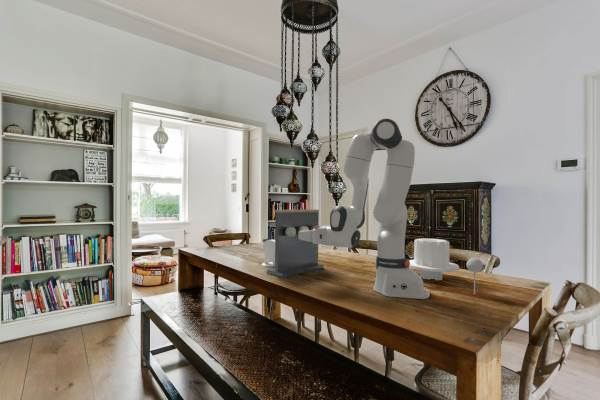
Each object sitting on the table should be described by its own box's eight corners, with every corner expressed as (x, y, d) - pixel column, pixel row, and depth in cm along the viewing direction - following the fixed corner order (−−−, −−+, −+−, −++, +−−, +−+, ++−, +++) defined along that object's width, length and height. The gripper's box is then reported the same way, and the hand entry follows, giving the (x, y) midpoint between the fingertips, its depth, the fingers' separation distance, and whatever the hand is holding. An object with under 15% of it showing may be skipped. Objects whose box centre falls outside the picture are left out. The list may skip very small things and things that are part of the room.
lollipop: (476, 297, 122) (477, 259, 122) (463, 293, 127) (463, 257, 127) (486, 295, 124) (486, 258, 125) (472, 291, 130) (472, 256, 130)
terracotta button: (320, 234, 171) (320, 225, 172) (315, 234, 168) (315, 225, 168) (316, 233, 174) (316, 225, 174) (310, 234, 170) (311, 225, 170)
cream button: (308, 235, 164) (308, 226, 164) (302, 235, 161) (302, 226, 161) (304, 234, 166) (304, 226, 166) (298, 235, 163) (298, 226, 163)
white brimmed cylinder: (408, 270, 171) (408, 236, 171) (458, 275, 160) (458, 239, 161) (402, 280, 149) (402, 241, 149) (460, 286, 138) (460, 244, 138)
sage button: (296, 236, 157) (296, 227, 157) (289, 237, 153) (289, 227, 153) (291, 236, 159) (291, 226, 159) (285, 236, 155) (285, 227, 155)
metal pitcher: (285, 264, 184) (285, 239, 184) (274, 267, 174) (274, 241, 174) (269, 262, 190) (269, 237, 190) (257, 265, 180) (258, 239, 180)
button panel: (323, 268, 174) (324, 209, 175) (283, 277, 151) (283, 210, 151) (307, 264, 182) (308, 209, 183) (267, 273, 159) (267, 209, 159)
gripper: (340, 227, 148) (318, 225, 157) (312, 229, 133) (290, 227, 142) (340, 240, 148) (318, 237, 157) (312, 244, 133) (290, 241, 142)
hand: (304, 233), depth 150 cm, fingers closed
